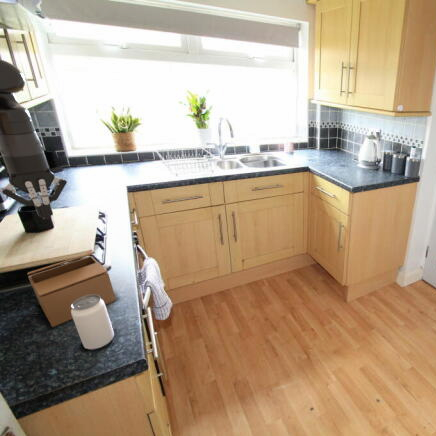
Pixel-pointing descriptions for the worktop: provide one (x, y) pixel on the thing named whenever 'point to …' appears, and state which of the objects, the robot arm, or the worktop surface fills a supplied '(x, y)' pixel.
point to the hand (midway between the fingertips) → (46, 217)
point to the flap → (60, 263)
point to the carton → (70, 287)
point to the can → (92, 321)
